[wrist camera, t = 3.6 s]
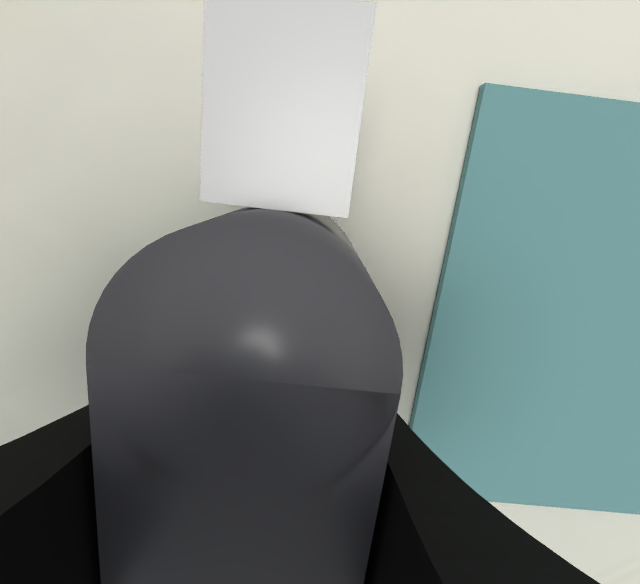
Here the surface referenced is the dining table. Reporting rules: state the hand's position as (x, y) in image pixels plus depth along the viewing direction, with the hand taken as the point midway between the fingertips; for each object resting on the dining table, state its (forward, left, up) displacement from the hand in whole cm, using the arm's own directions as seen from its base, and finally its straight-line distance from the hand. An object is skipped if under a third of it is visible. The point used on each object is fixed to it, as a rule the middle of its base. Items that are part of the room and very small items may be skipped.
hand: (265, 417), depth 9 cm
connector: (+2, 0, -2) cm, 2 cm away
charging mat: (+1, -12, -6) cm, 13 cm away
